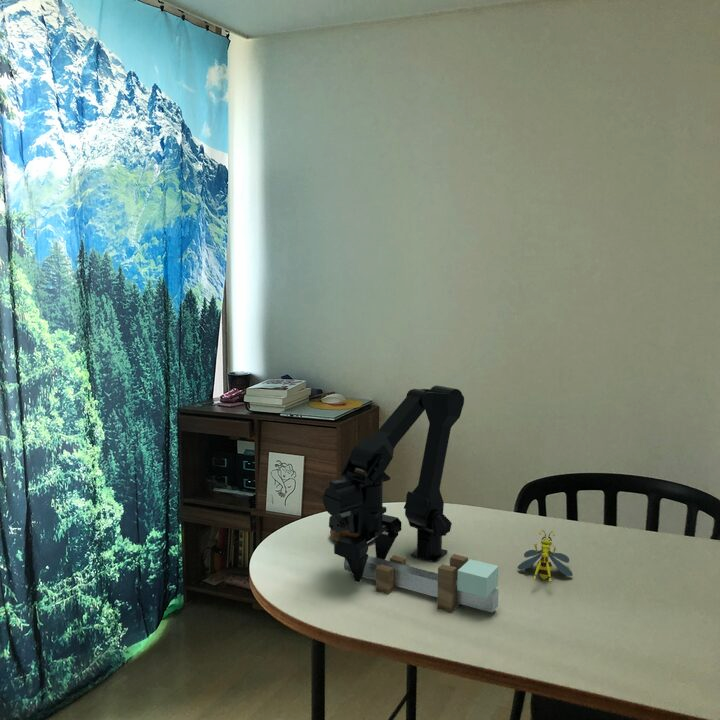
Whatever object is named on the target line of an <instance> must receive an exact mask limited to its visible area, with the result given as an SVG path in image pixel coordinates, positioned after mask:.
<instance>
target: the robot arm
mask: <svg viewBox="0 0 720 720" xmlns="http://www.w3.org/2000/svg"><path fill="white" fill-rule="evenodd" d="M464 404H465V397H464V395H463V393H462V391H461V390H460V389H458V388H454V387H447V386H443V385H433V386H432V387H431V388H418V389H417V388H412V389H410V390H408V391H407V394H406V397H405V398H404V399H403V400H402V401H401V403H400V404H399V405H398V406H397V408H395V410H394V411H393V412H392V413H391V415H389V417H388V418H387V419H386V420H385V422H384V423H383V424H382V425H381V426H380V428H378V430H377V431H376V432H374V433H373V434H371V435H368V436H366V437H364V438H363V439H362V440H361V441H359V442H358V443H357V444H356V445H354V447H353V448H352V449H351V451H350V455H349V458H348V460H346V463H345V465H344V467H343V469H342V471H341V473H340V477H341V479H338V480H331V481H329V482H328V483H329V484H328V485H329V487H326V488H325V490H324V492H323V494H322V503H323V507H324V509H325V510H326V512H327V513H328V514H329V515H330V516H329V520H328V527H329V529H330V530H332V531H335V533H338V532H339V531H344V530H349V533H352V534H354V533H357V535H358V537H357V538H356V537H352V536H348V535H346V536H344V537H343V538H341V539H340V540H338V541H335V543H333V553H334V555H337V556H339V557H340V558H341V557H342V558H344V560H345V559H346V560H347V562H348V564H349V566H350V569H351V571H352V577H353V579H354V581H355V583H357V584H358V583H361V581H362V578H363V577H362V576H363V572H364V569H365V565H366V562H367V559H368V556H369V554H368V551H369V544H368V543H370V541H371V542H373V541H374V545H375V546H374V547H375V557H376V558H380V559H383V560H387V557H388V554H389V552H390V550H391V548H392V546H393V545H394V542H395V541H396V539H397V537H398V536H399V532H401V531H402V521H401V519H399V517H396V516H392V515H389V514H388V515H387V514H385V513H387V507H386V506H383V504H384V503H383V492H384V490H383V488H384V487H383V485H384V482H388V481H390V480H391V477H390V476H389V475H388V474H387V473H386V472H385V471H387V468H388V467H389V464H390V463H391V461H392V460H393V458H394V450H395V448H396V446H397V445H398V443H399V442H400V441H401V440H402V439H403V437H404V436H405V435H406V434H407V432H409V430H410V429H411V427H412V426H413V425H414V424H415V423H416V422H417V421H418V419H419V418H420V417H421V415H422V414H423V413H424V411H425V415H426V417H427V419H428V423H429V424H428V429H427V435H426V441H425V444H424V445H425V447H424V452H423V455H422V462H421V466H420V467H421V468H420V473H419V478H418V483H417V485H416V487H415V488H414V489H413V491H409V490H408V491H407V493H406V500H405V504H404V506H403V509H404V515H405V517H406V519H407V521H408V524H409V527H410V528H415V529H417V531H416V533H417V535H416V538H417V539H416V540H417V541H416V549H415V550H414V551H412V552H411V554H410V556H411V557H414V558H417V559H422V560H424V561H430V562H433V563H437V562H438V561H439V560H440V559H442V558H443V557H444V556H445V555H446V554H448V550H447V549H443V537H445V536H447V534H448V533H451V528H452V524H453V522H452V521H450V519H449V518H448V517H447V516H446V515H445V514H444V507H445V505H444V503H445V502H444V500H443V496H442V494H441V489H440V488H441V484H442V477H443V473H444V467H445V463H446V456H447V451H448V445H449V440H450V436H451V435H450V434H451V430H452V427H453V426H454V425H455V423H457V421H458V420H459V419H460V417H461V414H462V411H463V408H464ZM356 470H357V471H359V472H363V473H359V472H357V471H356ZM364 473H365V474H364ZM373 539H374V540H373ZM372 540H373V541H372Z"/></svg>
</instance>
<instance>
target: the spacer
mask: <svg viewBox="0 0 720 720" xmlns="http://www.w3.org/2000/svg"><path fill="white" fill-rule="evenodd" d="M498 586H499V565H496V564H492V563H491V564H490V563H488V562H483V561H479V560H475V559H471V558H469V559H468V562H466V563H465V564H464V565H463V566H462V567H461V568H460V569H459V570H458V578H457V590H459V591H463V592H466V593H470V594H474V595H478V596H481V597H485V598H487V597H488V596H489V595H490V593H491V592H492V591H493V590H494V589H495V588H496V589H497V587H498Z"/></svg>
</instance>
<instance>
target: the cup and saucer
mask: <svg viewBox="0 0 720 720" xmlns="http://www.w3.org/2000/svg"><path fill="white" fill-rule="evenodd" d="M329 534H330V537H331V538H332V539H333V540H334V541H335V542H337V541H338V540H340V539H341V538H343V537H344V536H346V535H348V536H352V537H356V538H357V537H358V535H357V533H354V534H352V533H349V530H344V531H339V532H338V533H335V531H332V530H331V529H330V531H329ZM373 541H375V540H374V539H373V540H372V541H370V542H373ZM370 542H369V543H370Z"/></svg>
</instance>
